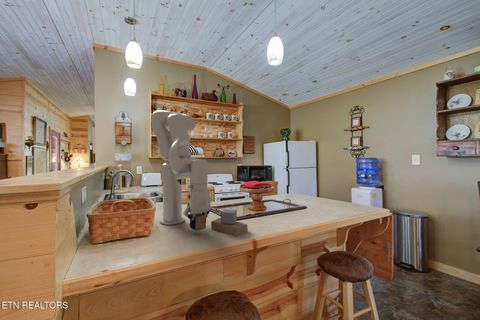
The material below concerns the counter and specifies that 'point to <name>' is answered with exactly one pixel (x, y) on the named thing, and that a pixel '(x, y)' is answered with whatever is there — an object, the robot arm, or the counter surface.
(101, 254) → the counter surface
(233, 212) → the slate block
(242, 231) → the brick
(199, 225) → the walnut block
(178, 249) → the counter surface
